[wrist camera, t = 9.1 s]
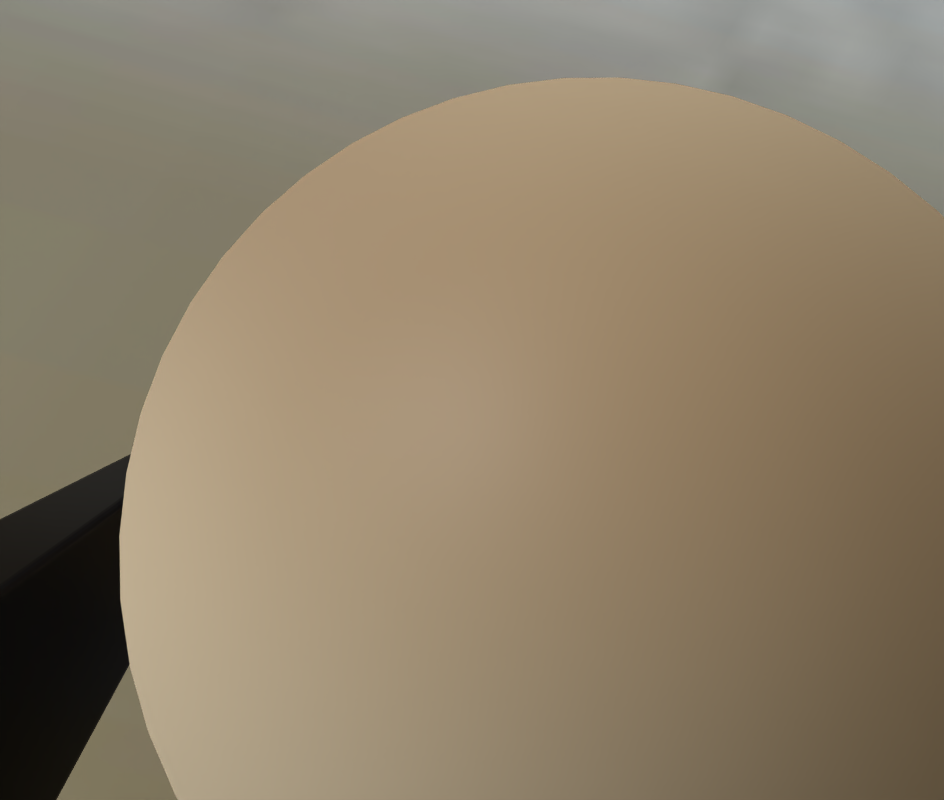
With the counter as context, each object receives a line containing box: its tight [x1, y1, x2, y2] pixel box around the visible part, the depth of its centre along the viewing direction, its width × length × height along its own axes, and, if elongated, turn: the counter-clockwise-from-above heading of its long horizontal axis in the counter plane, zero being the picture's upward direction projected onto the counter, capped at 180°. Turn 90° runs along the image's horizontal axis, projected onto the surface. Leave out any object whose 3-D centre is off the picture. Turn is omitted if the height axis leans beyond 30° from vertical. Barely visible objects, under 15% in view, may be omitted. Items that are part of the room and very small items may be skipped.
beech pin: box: [119, 78, 944, 800], centre depth 10 cm, size 6×6×14 cm
